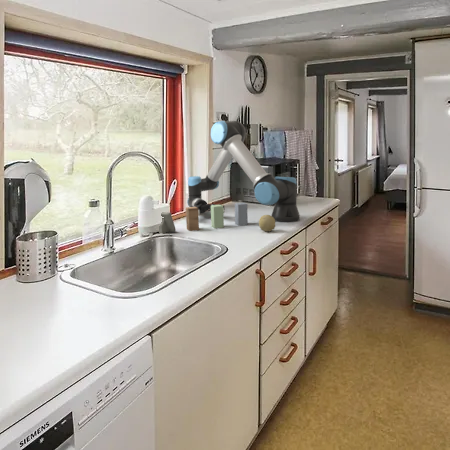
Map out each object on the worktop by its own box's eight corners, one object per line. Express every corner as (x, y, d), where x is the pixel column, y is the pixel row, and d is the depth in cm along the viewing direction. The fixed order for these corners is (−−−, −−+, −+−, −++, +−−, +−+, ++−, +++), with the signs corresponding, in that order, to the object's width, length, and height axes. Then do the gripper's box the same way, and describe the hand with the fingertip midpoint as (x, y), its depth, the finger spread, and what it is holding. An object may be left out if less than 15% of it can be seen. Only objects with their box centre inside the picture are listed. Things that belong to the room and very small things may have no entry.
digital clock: (177, 232, 216) (176, 210, 214) (163, 235, 210) (161, 213, 207) (157, 227, 227) (155, 207, 225) (142, 230, 221) (141, 210, 218)
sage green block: (211, 226, 226) (210, 205, 224) (220, 225, 228) (219, 204, 225) (214, 228, 221) (213, 206, 219) (223, 227, 223) (223, 206, 221)
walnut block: (186, 229, 222) (185, 207, 220) (196, 228, 224) (195, 206, 221) (189, 231, 217) (188, 209, 215) (199, 230, 219) (198, 208, 217)
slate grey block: (235, 224, 230) (234, 203, 228) (244, 223, 232) (243, 202, 230) (238, 225, 226) (238, 204, 223) (247, 224, 227) (247, 203, 225)
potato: (258, 229, 216) (258, 213, 214) (274, 229, 215) (274, 213, 214) (259, 233, 208) (259, 216, 207) (275, 233, 208) (275, 216, 206)
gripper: (220, 210, 257) (233, 216, 237) (179, 213, 249) (188, 220, 229) (220, 197, 255) (233, 202, 236) (178, 200, 247) (188, 206, 228)
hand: (211, 211), depth 232 cm, fingers open, 13 cm apart
